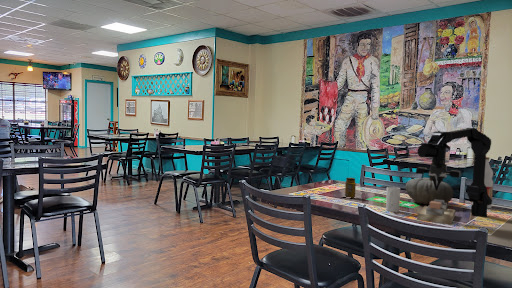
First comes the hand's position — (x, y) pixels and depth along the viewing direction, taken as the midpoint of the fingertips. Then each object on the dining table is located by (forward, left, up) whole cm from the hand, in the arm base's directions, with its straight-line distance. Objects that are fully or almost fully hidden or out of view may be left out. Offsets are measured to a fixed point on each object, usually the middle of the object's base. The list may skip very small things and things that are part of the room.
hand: (436, 190), depth 177 cm
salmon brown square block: (0, +5, -8) cm, 9 cm away
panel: (0, -1, -14) cm, 14 cm away
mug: (+21, -1, -14) cm, 25 cm away
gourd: (+9, -36, -14) cm, 40 cm away
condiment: (+51, -22, -14) cm, 57 cm away
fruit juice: (-17, -46, -14) cm, 51 cm away
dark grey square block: (0, -7, -9) cm, 12 cm away
